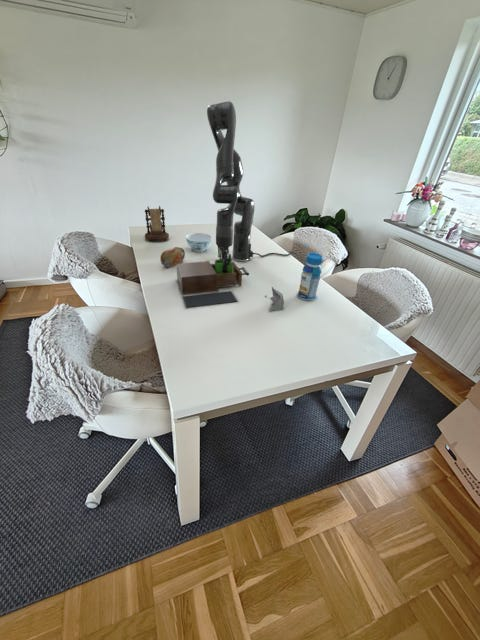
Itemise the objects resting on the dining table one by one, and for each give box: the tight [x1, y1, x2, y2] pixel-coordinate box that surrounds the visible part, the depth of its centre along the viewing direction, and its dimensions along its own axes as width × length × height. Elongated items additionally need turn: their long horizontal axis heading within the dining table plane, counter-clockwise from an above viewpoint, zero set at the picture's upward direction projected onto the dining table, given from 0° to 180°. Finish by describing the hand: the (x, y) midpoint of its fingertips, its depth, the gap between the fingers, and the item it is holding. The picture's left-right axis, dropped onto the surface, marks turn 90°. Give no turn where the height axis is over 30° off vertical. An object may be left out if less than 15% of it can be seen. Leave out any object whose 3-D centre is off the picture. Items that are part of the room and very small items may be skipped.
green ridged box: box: [214, 258, 233, 274], centre depth 142 cm, size 8×4×10 cm, turn 109°
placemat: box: [182, 290, 238, 309], centre depth 132 cm, size 22×9×1 cm, turn 109°
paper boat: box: [264, 286, 285, 312], centre depth 129 cm, size 12×6×9 cm
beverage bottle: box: [297, 252, 324, 301], centre depth 133 cm, size 8×8×20 cm
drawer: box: [210, 261, 250, 288], centre depth 144 cm, size 19×13×7 cm
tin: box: [159, 246, 186, 268], centre depth 158 cm, size 15×3×8 cm, turn 143°
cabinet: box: [175, 260, 218, 296], centre depth 139 cm, size 16×15×9 cm
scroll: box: [144, 205, 170, 243], centre depth 185 cm, size 15×15×20 cm
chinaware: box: [185, 232, 213, 253], centre depth 177 cm, size 15×15×8 cm
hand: (223, 269), depth 142 cm, fingers closed on green ridged box, 4 cm apart
